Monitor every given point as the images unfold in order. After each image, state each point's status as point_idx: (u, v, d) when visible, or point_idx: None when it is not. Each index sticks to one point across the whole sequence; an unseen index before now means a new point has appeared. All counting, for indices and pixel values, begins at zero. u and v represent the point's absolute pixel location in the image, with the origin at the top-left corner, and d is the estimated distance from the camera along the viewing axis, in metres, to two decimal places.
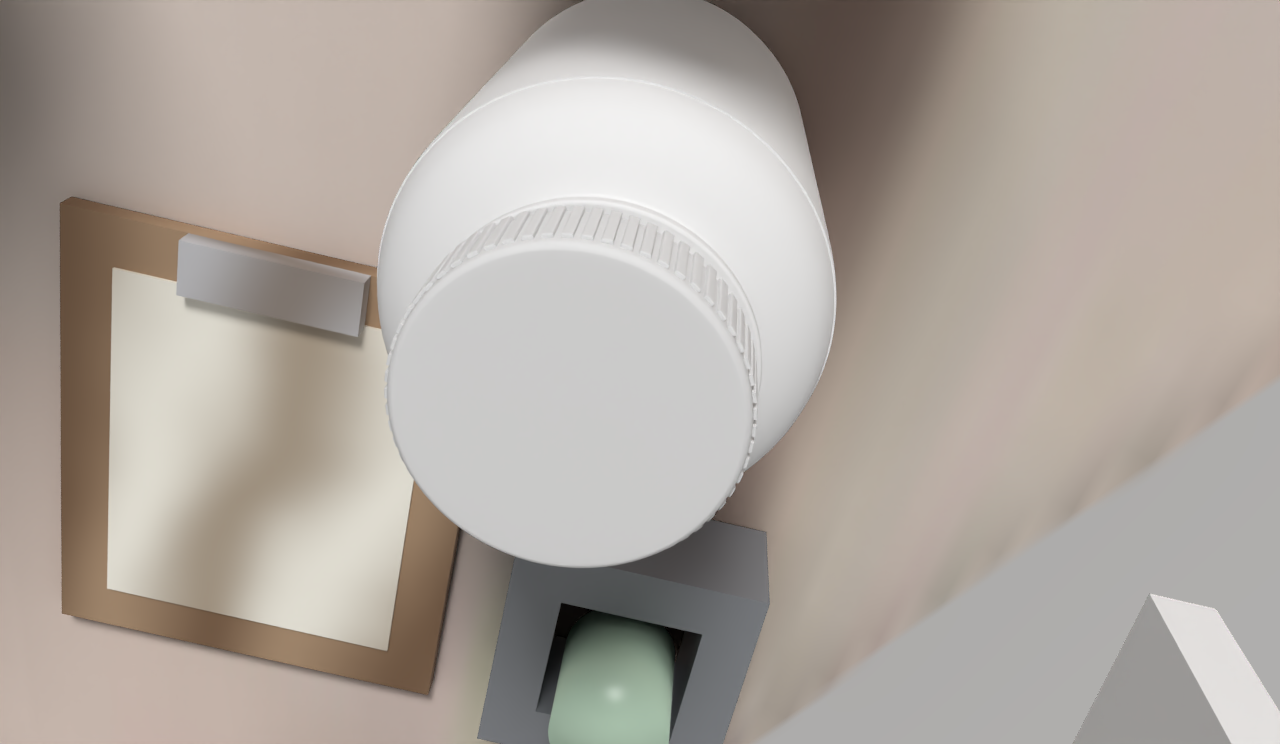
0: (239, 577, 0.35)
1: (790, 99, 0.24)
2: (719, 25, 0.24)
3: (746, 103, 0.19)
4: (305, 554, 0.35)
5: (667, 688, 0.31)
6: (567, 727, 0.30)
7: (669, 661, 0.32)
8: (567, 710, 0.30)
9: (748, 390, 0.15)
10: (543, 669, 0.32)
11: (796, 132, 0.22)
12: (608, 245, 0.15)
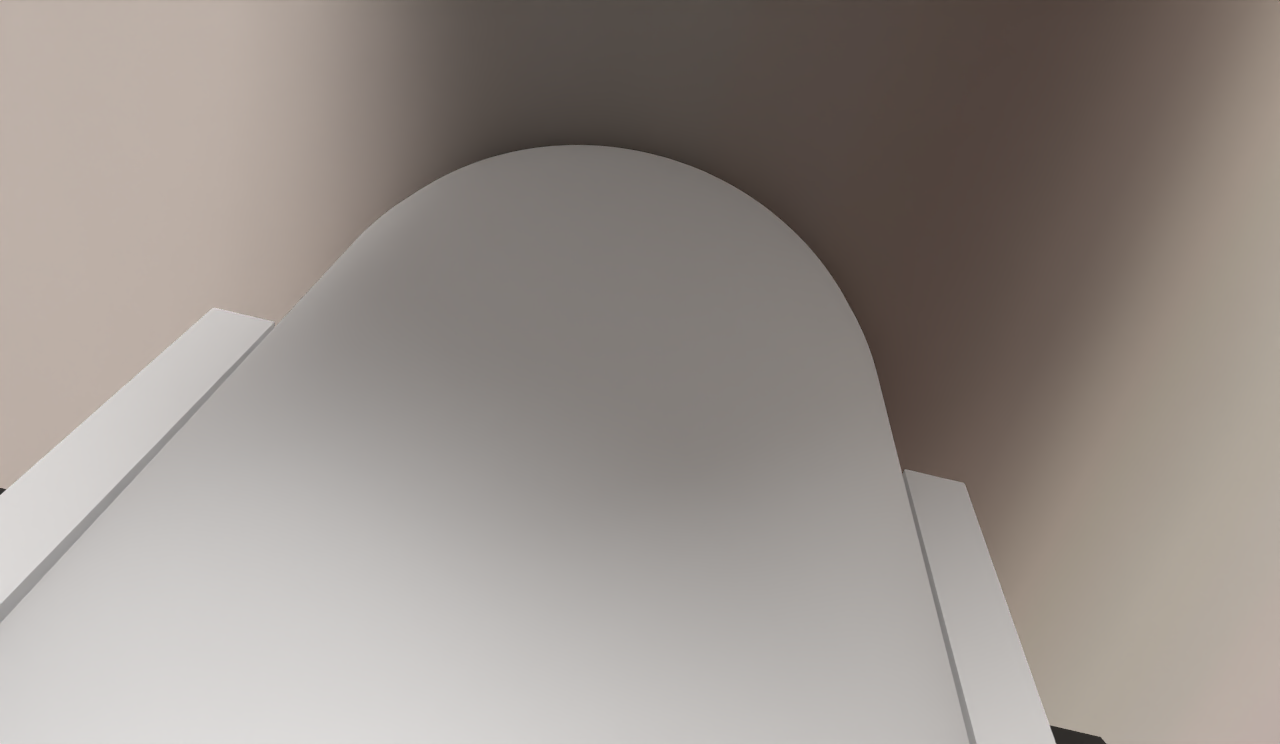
0: None
1: (874, 415, 0.11)
2: (722, 257, 0.11)
3: (804, 694, 0.06)
4: None
5: None
6: None
7: None
8: None
9: None
10: None
11: (913, 593, 0.09)
12: None
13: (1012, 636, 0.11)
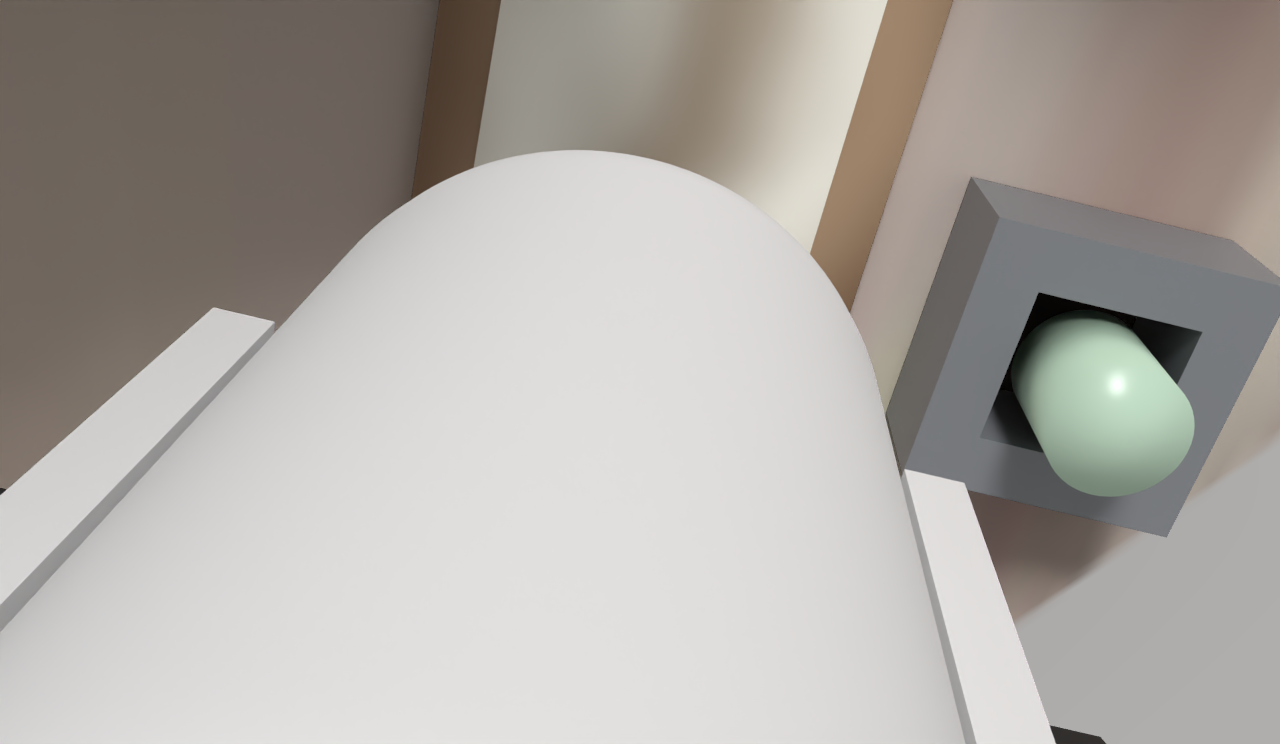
0: None
1: (873, 421, 0.11)
2: (721, 263, 0.12)
3: (802, 703, 0.06)
4: None
5: None
6: (1070, 422, 0.25)
7: None
8: (1076, 399, 0.25)
9: None
10: (1000, 381, 0.28)
11: (911, 600, 0.09)
12: None
13: (1012, 636, 0.11)
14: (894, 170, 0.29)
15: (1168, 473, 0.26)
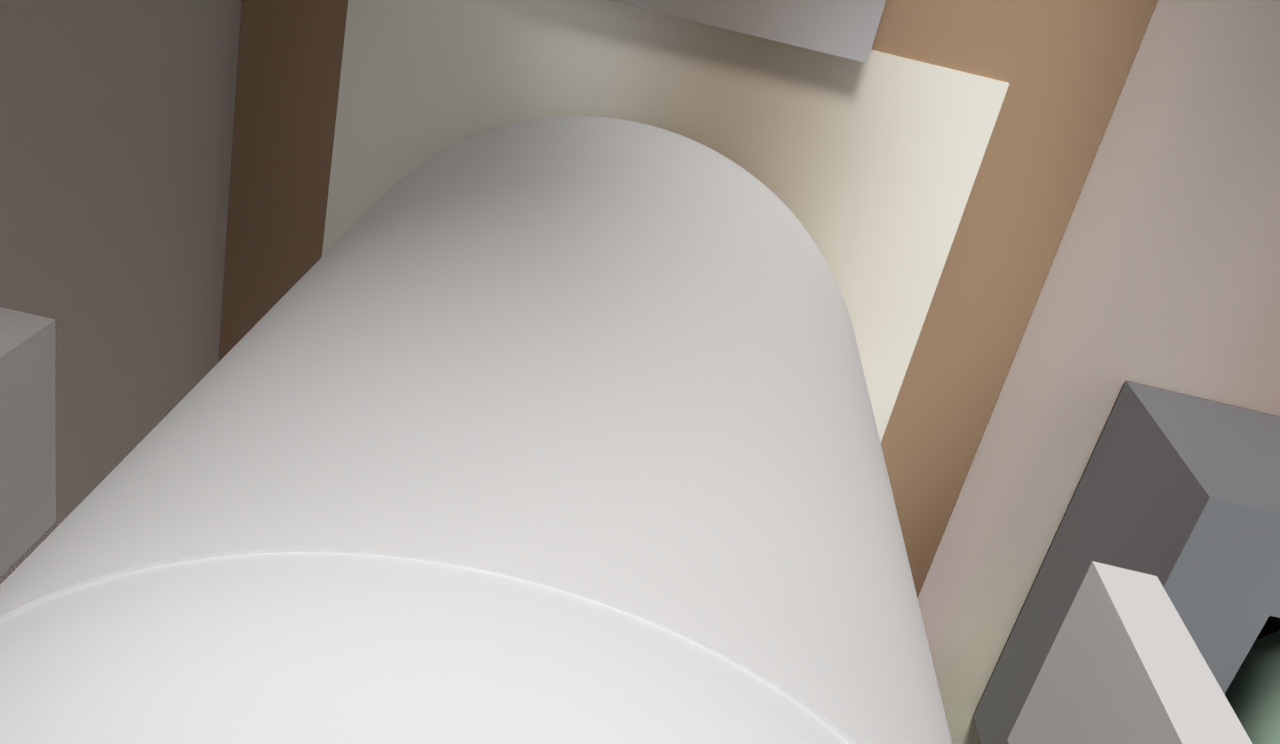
0: None
1: (843, 347, 0.13)
2: (706, 207, 0.13)
3: (765, 525, 0.07)
4: None
5: None
6: None
7: None
8: None
9: None
10: None
11: (870, 482, 0.10)
12: None
13: None
14: (1002, 377, 0.17)
15: None
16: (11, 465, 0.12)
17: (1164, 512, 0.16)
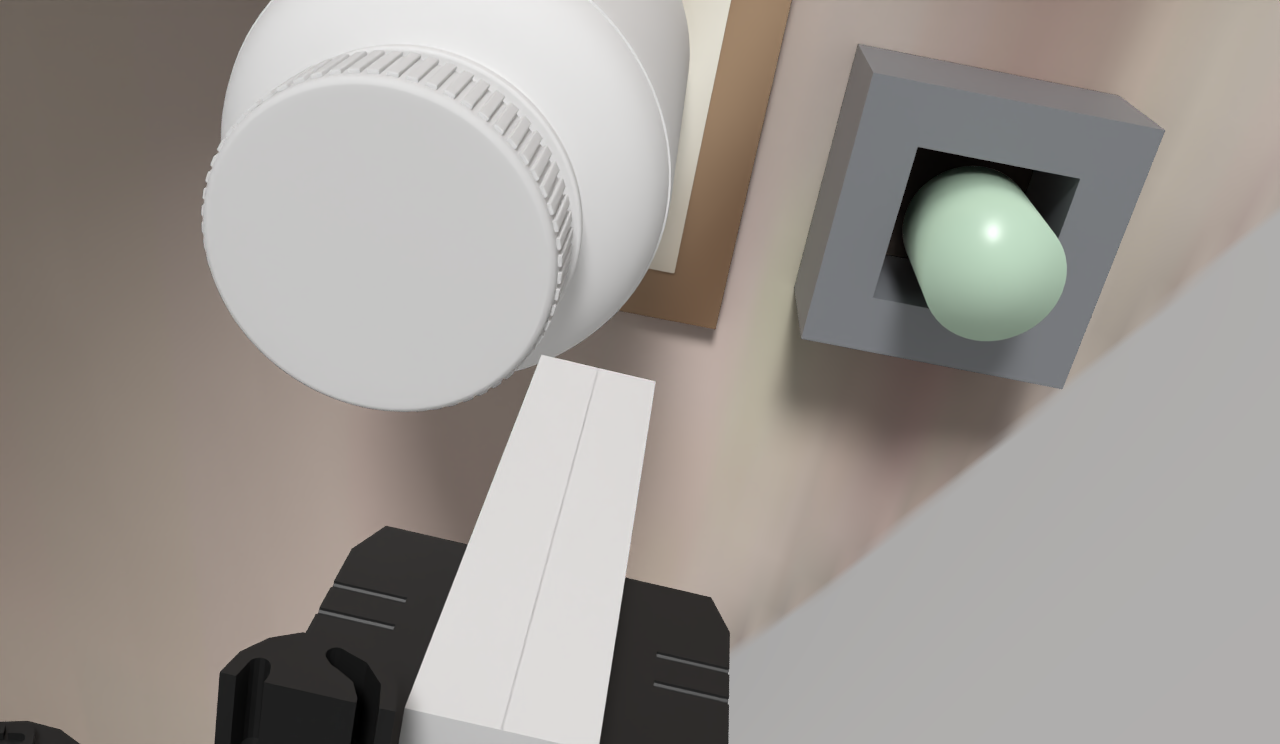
0: None
1: None
2: None
3: None
4: None
5: None
6: (946, 268, 0.26)
7: None
8: (950, 243, 0.26)
9: (546, 218, 0.16)
10: (887, 239, 0.28)
11: None
12: (394, 78, 0.15)
13: (631, 503, 0.12)
14: (780, 39, 0.29)
15: (1045, 314, 0.26)
16: None
17: (861, 96, 0.28)
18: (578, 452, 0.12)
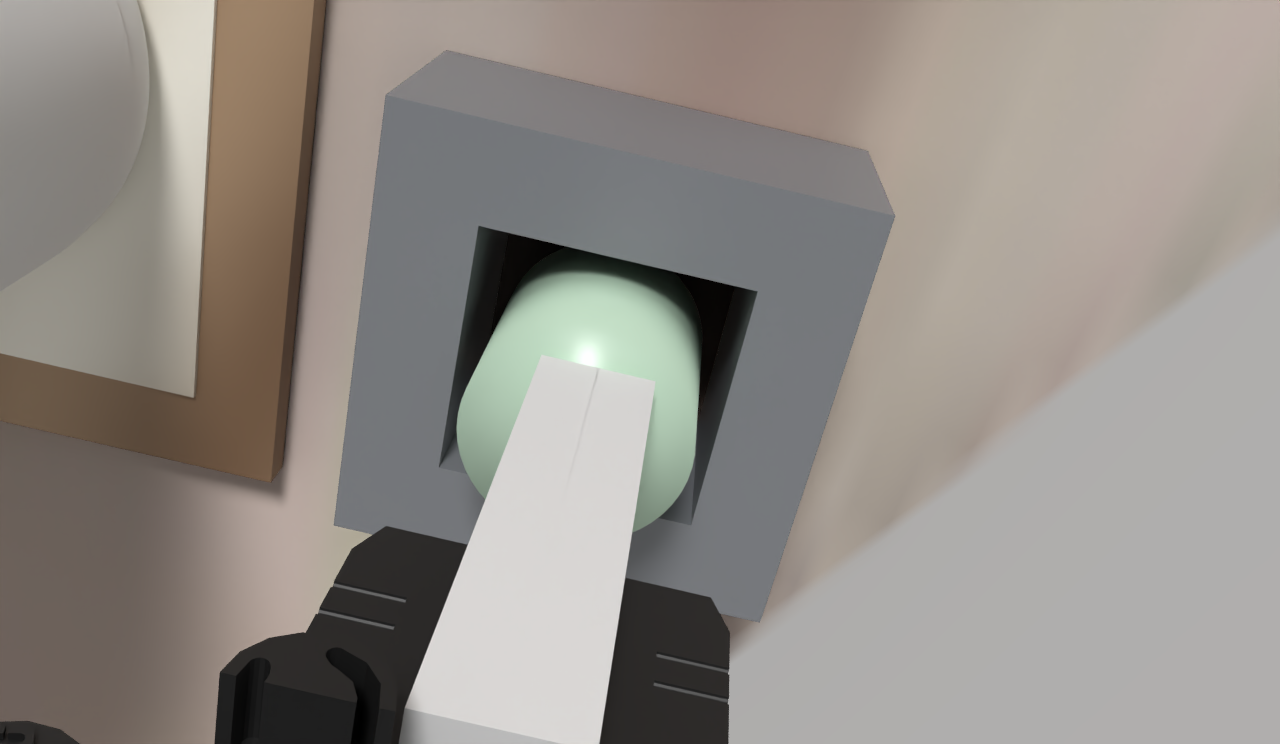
0: None
1: None
2: None
3: None
4: None
5: (691, 363, 0.16)
6: (493, 421, 0.15)
7: (693, 331, 0.17)
8: (492, 381, 0.15)
9: None
10: (449, 377, 0.17)
11: None
12: None
13: (630, 503, 0.12)
14: (305, 37, 0.18)
15: (668, 503, 0.15)
16: None
17: None
18: (578, 452, 0.12)
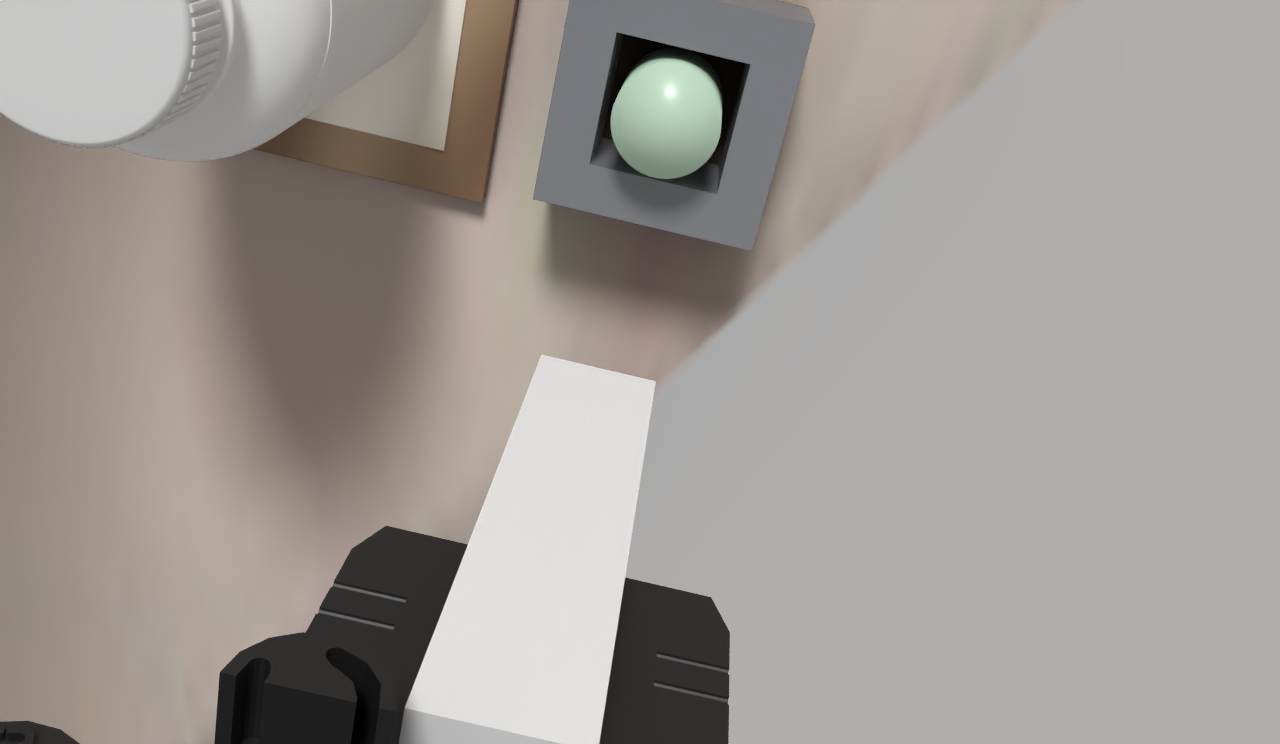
0: None
1: None
2: None
3: None
4: None
5: (718, 95, 0.34)
6: (628, 115, 0.33)
7: (719, 88, 0.35)
8: (629, 94, 0.32)
9: None
10: (598, 112, 0.34)
11: None
12: None
13: (630, 503, 0.12)
14: None
15: (708, 156, 0.33)
16: None
17: None
18: (578, 452, 0.12)
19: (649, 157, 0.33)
